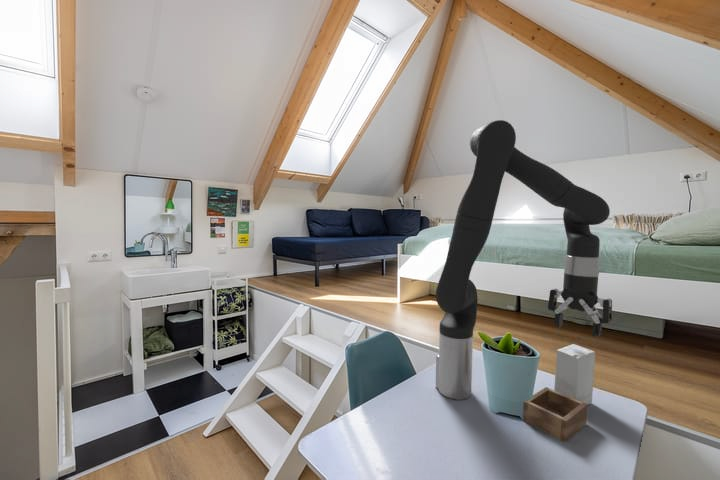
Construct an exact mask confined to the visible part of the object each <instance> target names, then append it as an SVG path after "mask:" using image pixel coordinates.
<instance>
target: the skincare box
mask: <svg viewBox="0 0 720 480" xmlns="http://www.w3.org/2000/svg"><path fill="white" fill-rule="evenodd" d="M555 357H556V358H555V374H554V376H555V377H554V389H553V390H554V391H557V392H559V393H561V394H564V395H566V396H569V397H571V398H573V399H576V400H578V401H581V402H583V403H585V404H587V406H588V405H590V404H591V403H593V395H594V394H593V391H594V378H595V377H594V376H595V374H594V373H595V362H596V351H594V350H591V349H589V348H586V347H583V346H580V345H577V344H575V343H572V344H570V345H567V346H565V347H561V348H558V349H557V350H556V355H555Z"/></svg>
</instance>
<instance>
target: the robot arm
mask: <svg viewBox="0 0 720 480" xmlns="http://www.w3.org/2000/svg"><path fill="white" fill-rule="evenodd" d="M515 131H516V130H515V129H514V127H513V125H512V124H511V123H510V122H508V121H507V120H504V119H503V120H502V119H500V120H492V121H491V122H488V123H486V124H484V125H482V126H480V127H478V128H477V129H476V130H474V132H472V133H473V134H472V135H471V137H470V141H469V147H470V150H471V152H472V154H473V155H474V156H475V157H476V160H475V165H474V170H473V175H472V177H471V180H470V182H469V184H468V186H467V188H466V190H465V192H464V194H463V196H462V198H461V200H460V203H459V205H458V208H457V210H456V211H457V212H456V216H455V220H454V224H453V229H452V233H451V239H450V242H449V245H448V251H447V255H446V256H447V257H446V259H445V264H444V265H443V266H444V267H443V269H442V271H441V275H440V278H439V281H438V283H437V285H436V288H435V289H436V290H435V299H436V303H437V305H438V307H439V308H440V310H441V311H443V312H444V315H443V317H442V319H441V321H440V322H439V332H438V333H439V335H438V336H439V337H438V338H439V340H438V342H439V343H438V355H436V357H435V388H437V390H438V392H439V393H440V394H441V395H443V396H445V397H446V398H449V399H452V400H466V399H469V398H470V397H471V396H472V384H473V382H472V380H473V348H474V347H473V346H474V345H473V343H474V342H473V341H474V330H475V329H474V328H475V326H476V323H477V311H478V289H477V287H476V285H475V283H474V282H473V281H472V280H471V279H470V275H471V271H472V269H473V267H474V264H475V262H476V260H477V259H478V257H479V255H480V254H481V252H482V249H483V248H484V247H485V244H486V243H487V240H488V237H489V234H490V231H491V228H492V223H493V220H494V215H495V211H496V207H497V203H498V198H499V195H500V190H501V186H502V183H503V179H504V175H505V173H507V174H509V175H510V176H512V177H513V178H515V179H516V180H517V181H519V182H521V183H522V184H523V185H524V186H526V187H527V188H528V189H530V190H531V191H532V192H534V193H535V194H537V195H538V196H540V197H541V198H542V199H543V200H545V201H546V202H547V203H549V204H550V205H553V206H554V207H557V208H558V207H559V208H563V214H562V216H563V217H562V219H563V224H564V231H565V234H566V238H567V245H566V257H565V261H564V272H563V286H562V287H563V289H562V290H559V289H557V288H552V289H550V291H549V296H548V297H549V298H548V304H547V309H548V310H549V311H552V312H553V313H554V324H555V326H556V328H561V327H563V325H564V324H563V322H564V313H563V312H564V311H566V310H567V309H568V308H570V310H577V311H579V312H586V313H587V314H588V316H590V317H591V319H592V321H593V323H592V333H591V336H592V338H598V337H599V336H601V334H602V330H603V329H602V328H603V324H609V323H610V322H612V321H613V301H612V299H611V298H600V297H598V288H599V285H598V284H599V274H600V261H599V259H600V258H599V257H600V245H601V243H600V242H601V241H600V238H599V236H598V235H596V234H593V232H591V229H590V226H596V225H600V224H602V223H604V222H606V221H607V220H608V218H609V216H610V207H609V205H608V203H607V201H605V199H603V198H602V197H601V196H600V195H598V194H596V193H594V192H591V191H589V190H588V189H585V188H583V187H581V186H578V185H577V184H574V183H573V182H572V181H571V180H569V179H568V178H567V177H566V176H564V175H563V174H562V173H560V172H558V171H557V170H556V169H553V168H552V167H550V166H549V165H546V164H545V163H542V162H541V161H538V160H536V159H534V158H532V157H530V156H528V155H526V154H525V153H524V152H522V151H520V150H519V149H517V147H516V146H515V145H516V140H517V135H516V132H515ZM560 296H561V298H562V299H563V302H562V303H561V304H560V305H559V306H558V305H557V304H558V298H560ZM597 304H599V305H600V307H601V308H602V316H601V314H600V313H599V310H598V309H597V307H596V305H597Z"/></svg>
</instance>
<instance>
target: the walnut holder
mask: <svg viewBox="0 0 720 480" xmlns="http://www.w3.org/2000/svg"><path fill="white" fill-rule="evenodd" d="M531 396H532V399H531V400H528V401H525V400H524V401H523V409H522V411H523V412H522V421H523V422H525V423H527V424H529V425H531V426H532V427H535V428H536V429H539V430H540V431H542V432H544V433H546V434H547V435H549V436H552V437H554V438H555V439H556V440H560V441H561V442H563V443H565V444H566V443H568V442H569V440H571V438H572V437H574V436H575V435H576V434H577V433H579V431H580V430H581V429H583V428H584V427H585V426H586V425H587V422H588V421H587V419H588V418H587V416H588V405H587V404H585V403H583V402H581V401H578V400H576V399H573V398H571V397H569V396H566V395H564V394H561V393H559V392H557V391H554V389H551V388H549V387H546V386H545V387H544V388H543V389H541V390H539V391H538V392H536V393H534V394H532V395H531ZM561 415H562V416H561Z"/></svg>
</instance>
